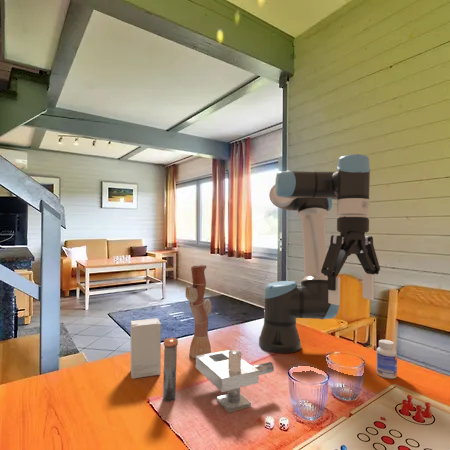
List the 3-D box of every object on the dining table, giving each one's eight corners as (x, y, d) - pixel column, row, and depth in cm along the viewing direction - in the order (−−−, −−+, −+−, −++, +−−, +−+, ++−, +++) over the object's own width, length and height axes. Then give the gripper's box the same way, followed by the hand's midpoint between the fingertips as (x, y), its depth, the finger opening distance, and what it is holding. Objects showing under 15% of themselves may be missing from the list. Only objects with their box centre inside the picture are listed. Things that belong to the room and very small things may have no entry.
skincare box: (157, 367, 93) (159, 317, 93) (160, 375, 87) (162, 322, 88) (128, 370, 90) (130, 319, 90) (129, 380, 84) (131, 325, 85)
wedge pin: (160, 396, 76) (162, 339, 76) (173, 393, 78) (175, 337, 78) (164, 403, 73) (166, 343, 73) (178, 399, 75) (179, 341, 75)
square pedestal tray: (195, 386, 81) (196, 340, 82) (246, 374, 89) (247, 332, 90) (221, 415, 69) (222, 360, 69) (277, 398, 76) (278, 349, 77)
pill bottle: (399, 380, 88) (399, 345, 88) (379, 378, 89) (379, 343, 89) (393, 372, 93) (393, 339, 94) (374, 370, 94) (374, 337, 95)
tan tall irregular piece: (206, 349, 108) (209, 263, 109) (216, 356, 102) (218, 265, 103) (178, 354, 103) (181, 264, 104) (187, 362, 97) (189, 266, 98)
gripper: (332, 213, 68) (331, 310, 68) (394, 218, 81) (394, 299, 81) (306, 214, 74) (305, 303, 74) (368, 219, 88) (367, 294, 87)
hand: (351, 301), depth 77 cm, fingers open, 13 cm apart
